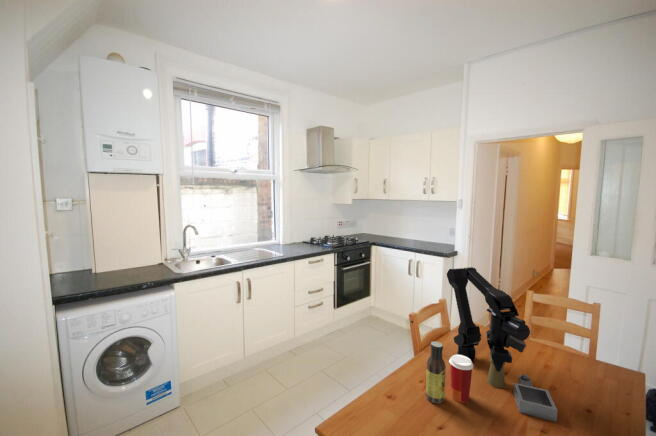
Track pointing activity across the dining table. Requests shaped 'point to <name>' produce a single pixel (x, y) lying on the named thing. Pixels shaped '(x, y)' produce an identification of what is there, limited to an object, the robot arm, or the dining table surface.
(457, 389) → the paper cup
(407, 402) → the dining table surface
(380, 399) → the dining table surface
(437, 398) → the sauce bottle
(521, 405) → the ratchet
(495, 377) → the cork
